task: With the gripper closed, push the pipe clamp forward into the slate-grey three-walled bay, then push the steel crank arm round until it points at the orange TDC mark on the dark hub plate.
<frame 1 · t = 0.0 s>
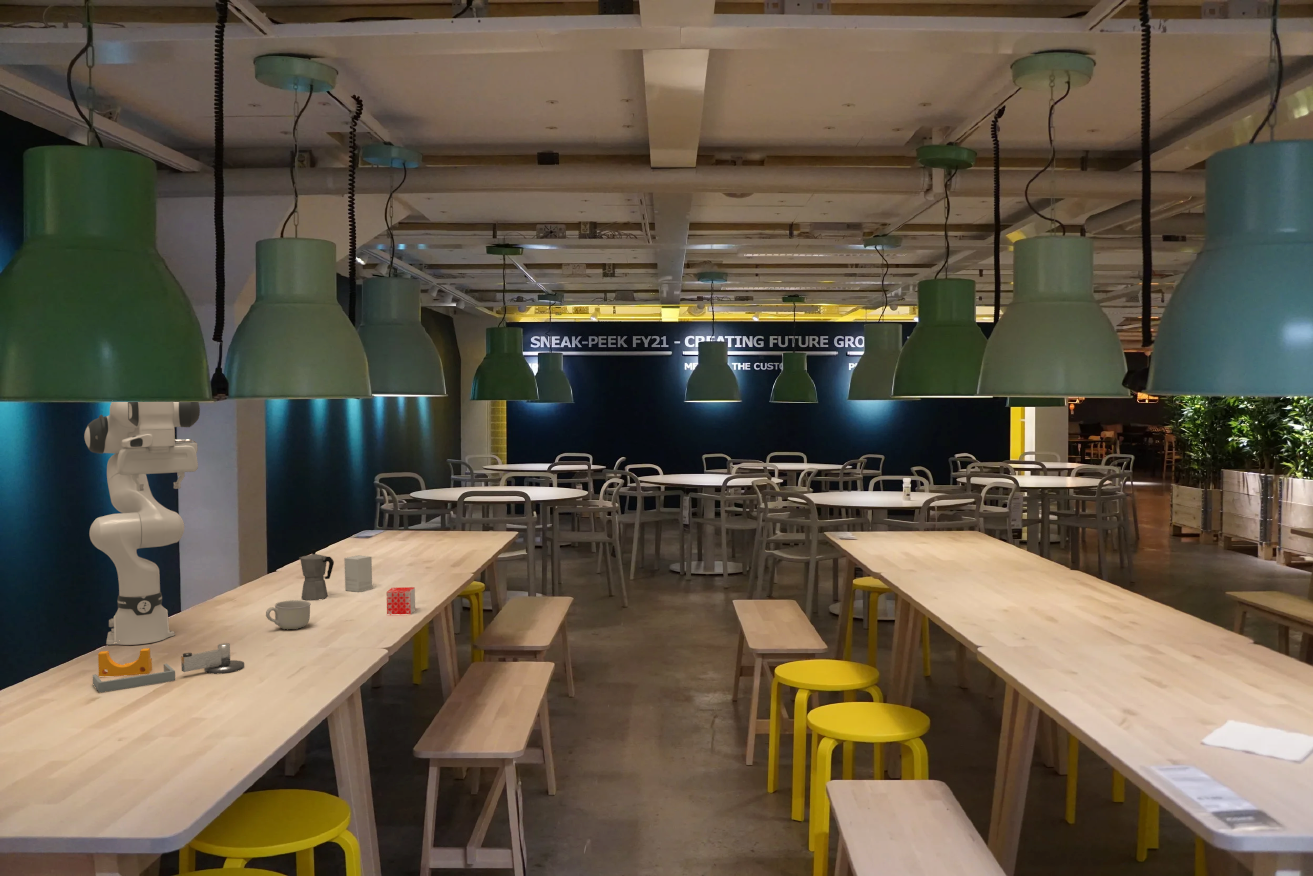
hand: (158, 489, 284), 48 cm above the table, tool pointing down, fingers open, 8 cm apart
coffeepot: (317, 598, 373), on the table
puzzle cube: (401, 613, 348), on the table
crank: (206, 657, 273), point 4 cm above the table, hinge at 0.0°
supplement box: (358, 590, 389), on the table
pipe clamp: (125, 674, 273), on the table
bay: (134, 682, 264), on the table
teacup: (288, 629, 325), on the table
crank base: (224, 668, 277), on the table
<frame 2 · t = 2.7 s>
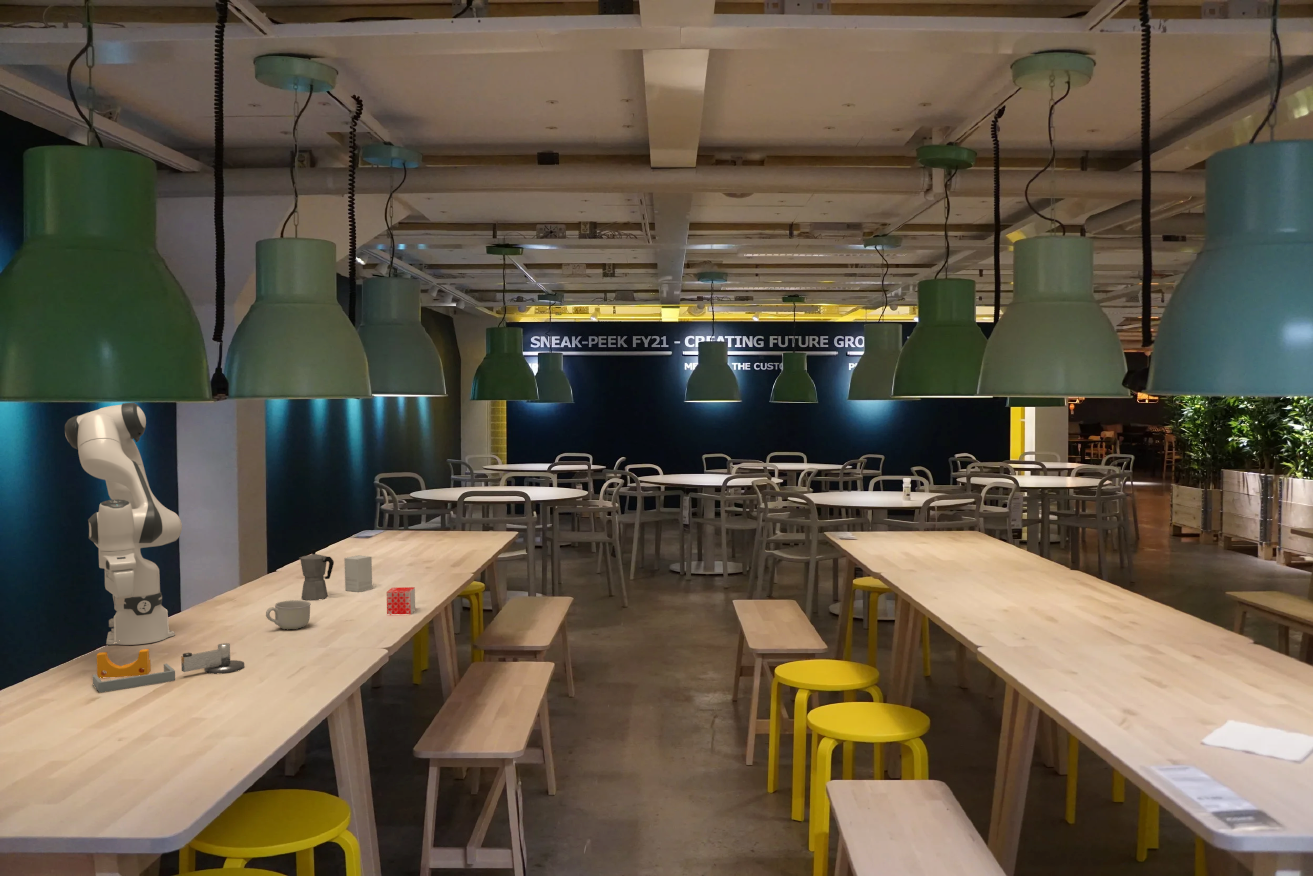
hand: (119, 610, 278), 16 cm above the table, tool pointing down, fingers closed
pipe clamp: (124, 676, 272), on the table
everything else where it was.
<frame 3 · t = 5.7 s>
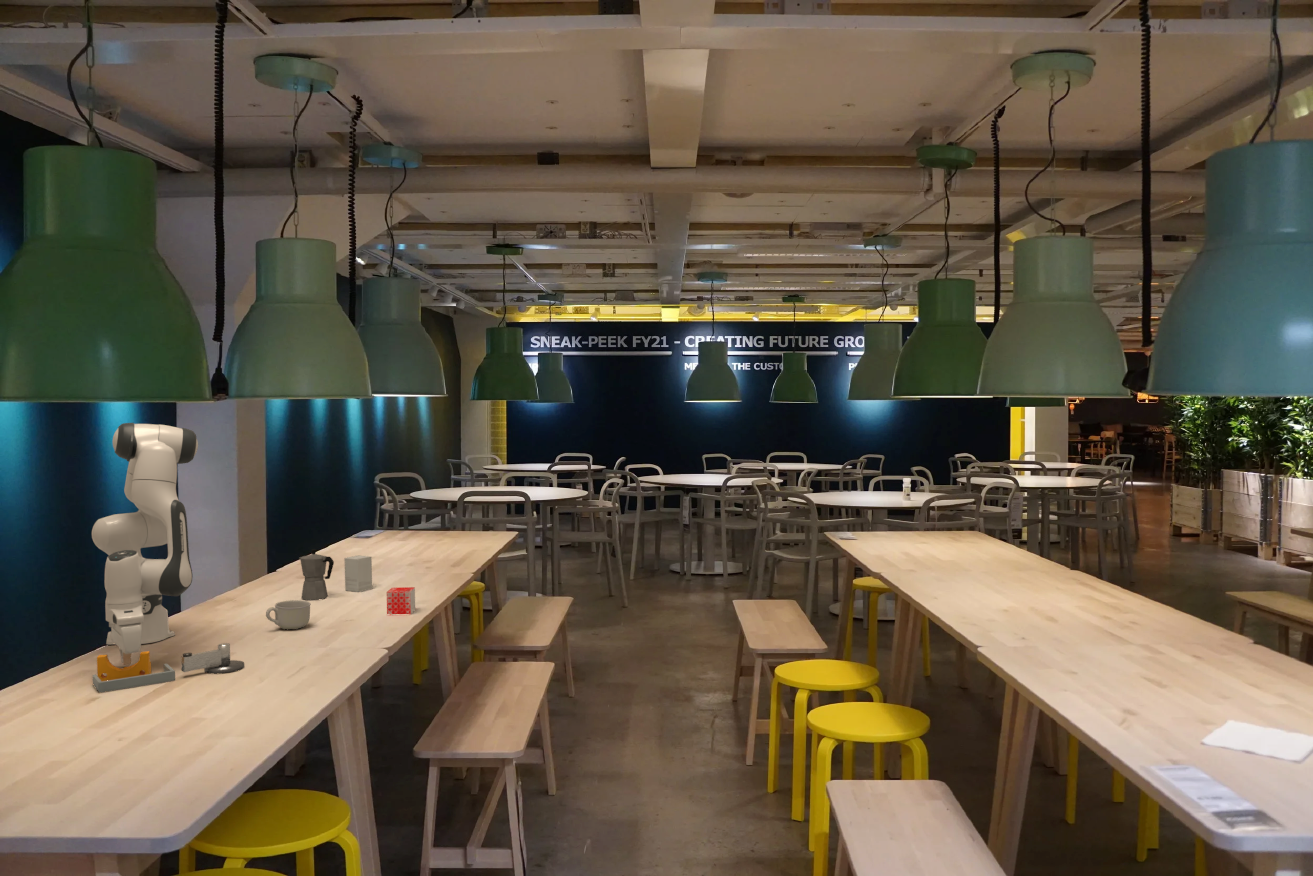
hand: (126, 664, 272), 3 cm above the table, tool pointing down, fingers closed
pipe clamp: (124, 678, 269), on the table
everything else where it was.
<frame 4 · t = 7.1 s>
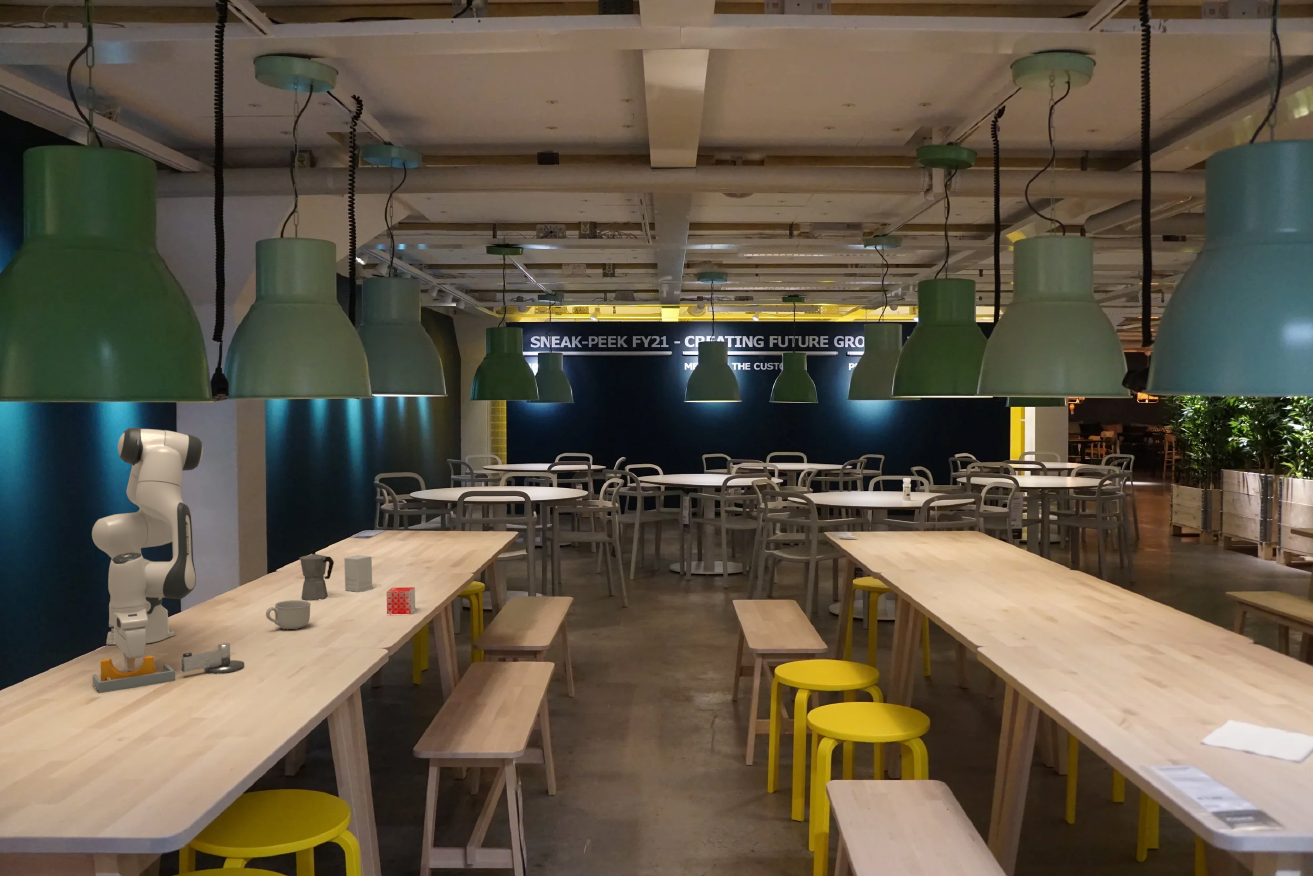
hand: (130, 668, 268), 3 cm above the table, tool pointing down, fingers closed
pipe clamp: (129, 683, 265), on the table
everything else where it was.
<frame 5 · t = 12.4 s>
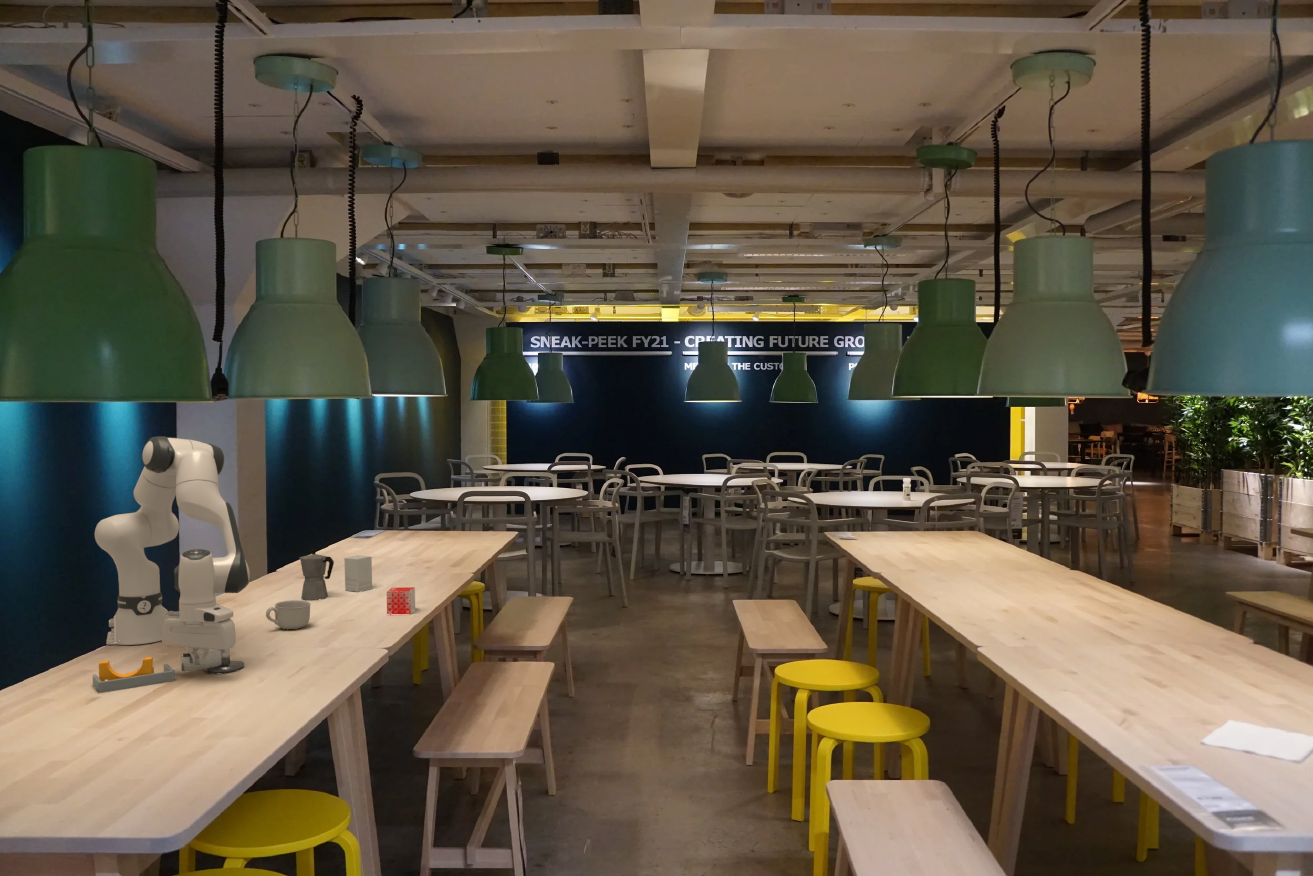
hand: (199, 664, 269), 3 cm above the table, tool pointing down, fingers closed
crank: (206, 657, 273), point 4 cm above the table, hinge at -0.1°, touching gripper
pipe clamp: (127, 685, 263), on the table
everything else where it was.
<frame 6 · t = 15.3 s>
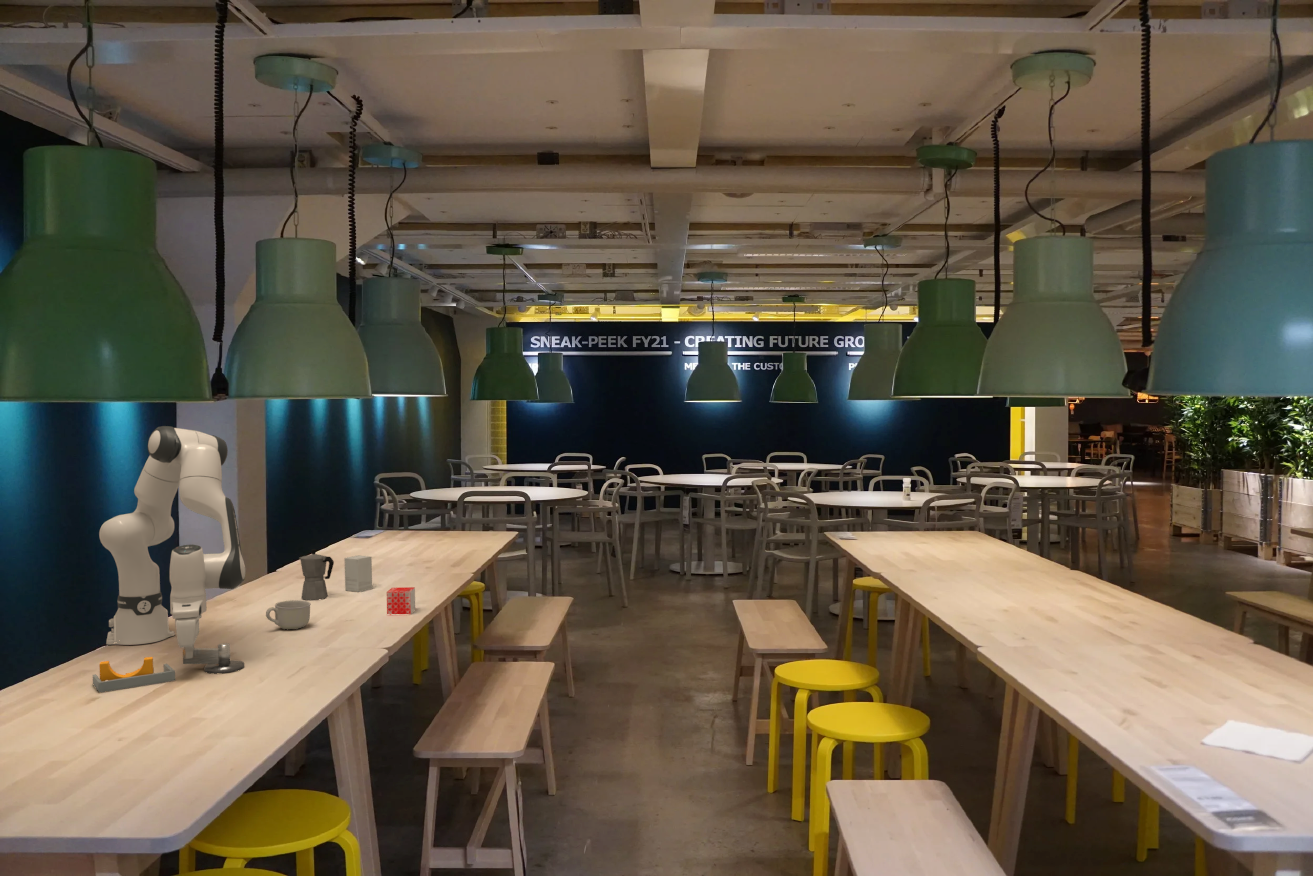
hand: (189, 657, 275), 4 cm above the table, tool pointing down, fingers closed
crank: (207, 654, 277), point 4 cm above the table, hinge at -50.0°, touching gripper
everything else where it was.
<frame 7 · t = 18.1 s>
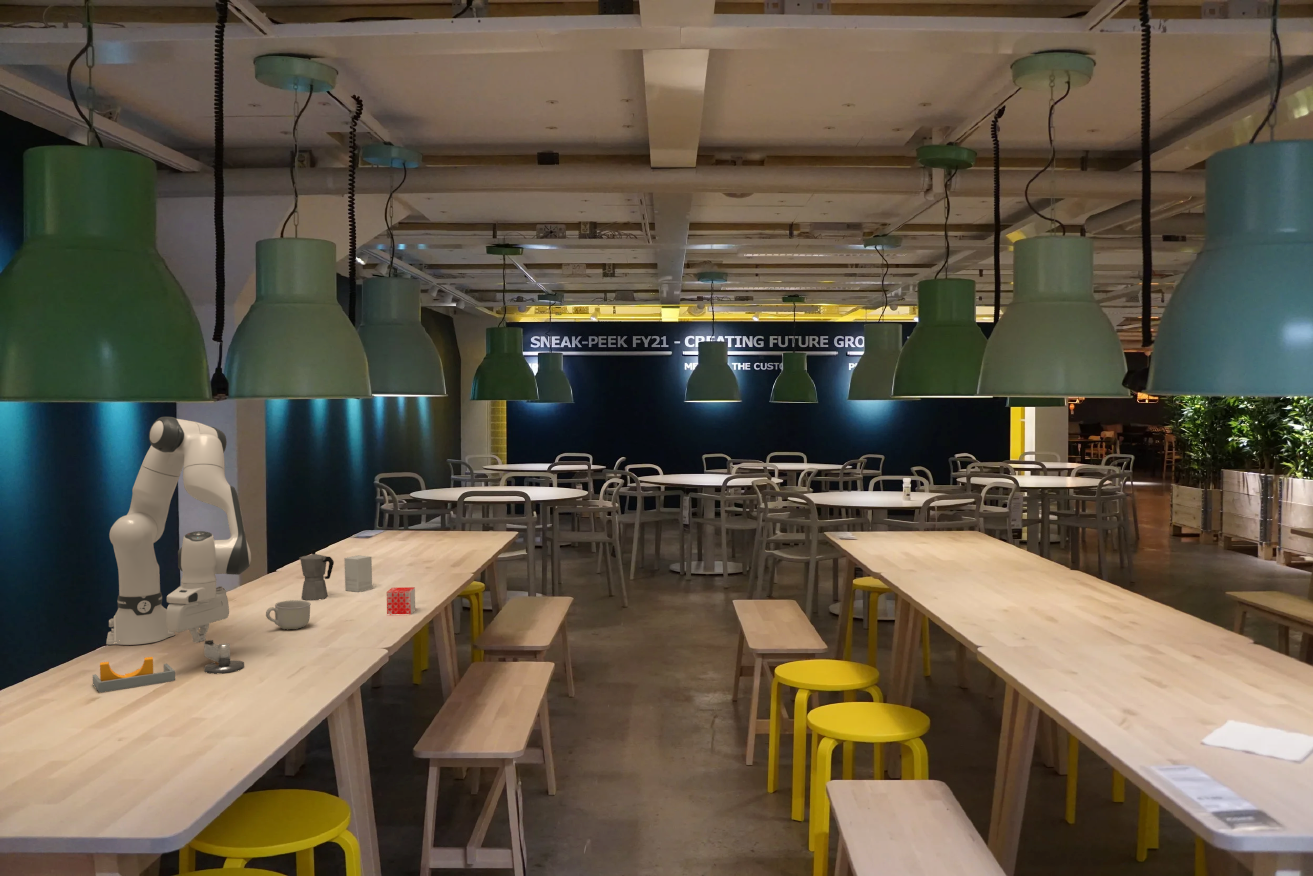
hand: (199, 641, 280), 7 cm above the table, tool pointing down, fingers closed
crank: (216, 651, 280), point 4 cm above the table, hinge at -91.6°
everything else where it was.
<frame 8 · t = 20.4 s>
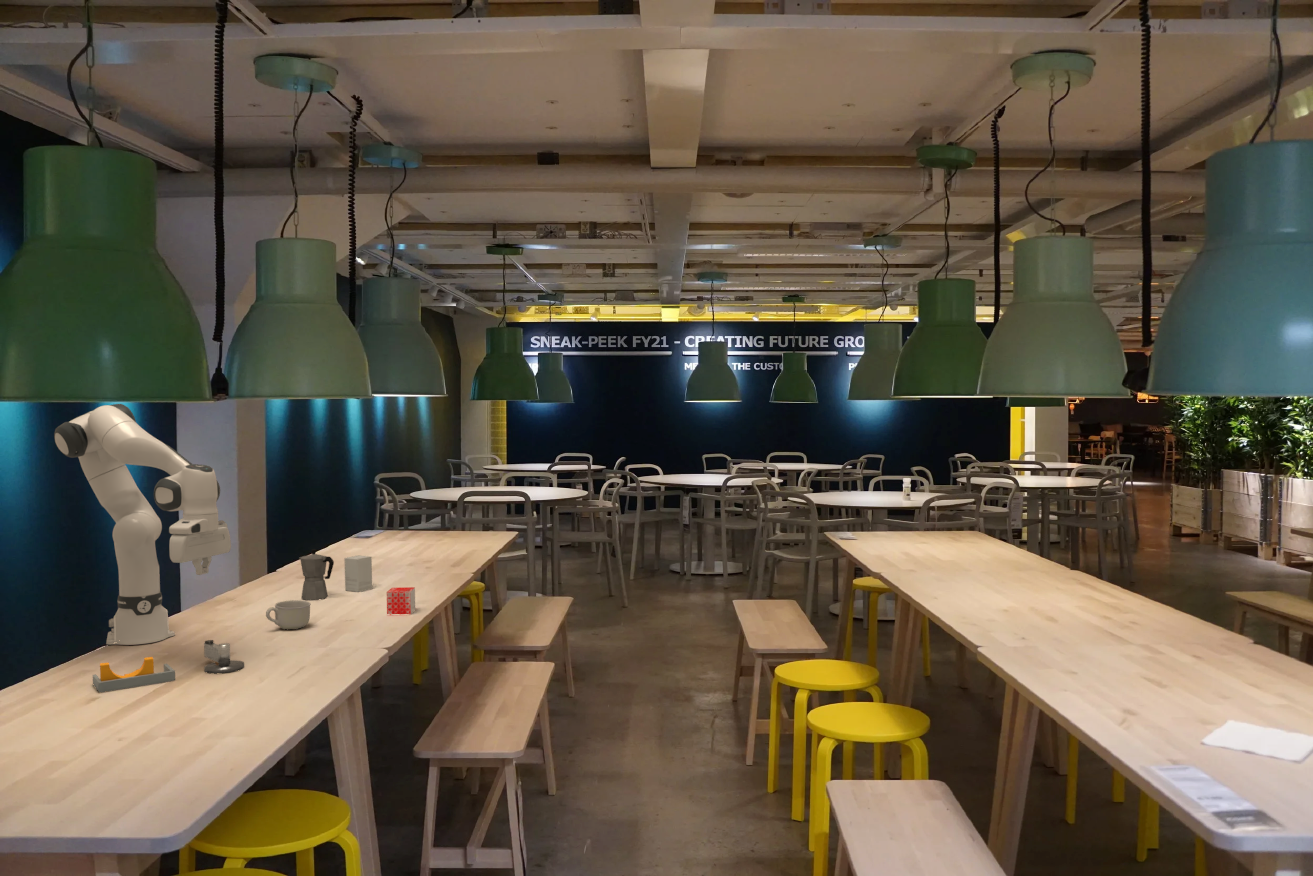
hand: (202, 574, 280), 25 cm above the table, tool pointing down, fingers closed
at the end: pipe clamp inside the target area on the bay (2.4 cm from its centre), point 0.0 cm above the bay's base; crank at -92° (first picture: +0°); pipe clamp touching table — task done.
